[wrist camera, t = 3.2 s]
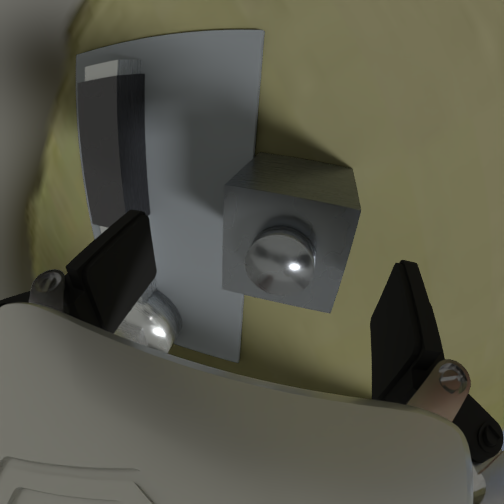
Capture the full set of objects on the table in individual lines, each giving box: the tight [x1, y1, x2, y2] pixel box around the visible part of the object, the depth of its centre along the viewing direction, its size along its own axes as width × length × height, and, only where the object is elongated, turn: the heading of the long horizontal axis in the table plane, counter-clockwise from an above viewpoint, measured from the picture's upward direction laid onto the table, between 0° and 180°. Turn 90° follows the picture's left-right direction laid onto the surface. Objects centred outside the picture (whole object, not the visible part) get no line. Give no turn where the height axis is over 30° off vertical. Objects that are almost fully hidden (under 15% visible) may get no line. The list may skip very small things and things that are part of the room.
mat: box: [76, 30, 265, 363], centre depth 21 cm, size 14×27×1 cm, turn 176°
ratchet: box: [77, 60, 182, 353], centre depth 19 cm, size 25×7×6 cm, turn 176°
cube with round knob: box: [222, 152, 361, 313], centre depth 14 cm, size 5×5×7 cm
